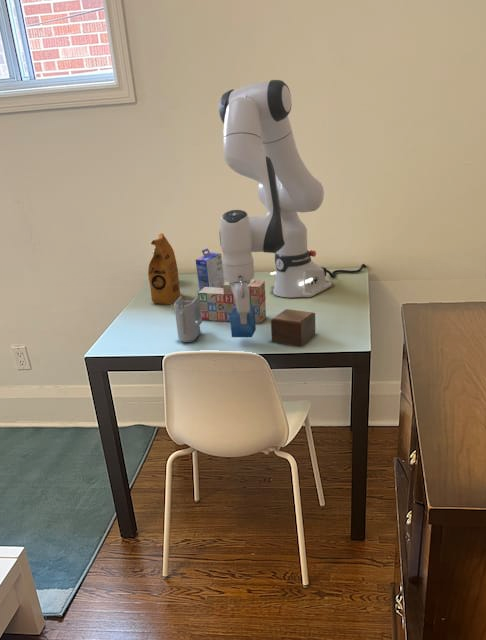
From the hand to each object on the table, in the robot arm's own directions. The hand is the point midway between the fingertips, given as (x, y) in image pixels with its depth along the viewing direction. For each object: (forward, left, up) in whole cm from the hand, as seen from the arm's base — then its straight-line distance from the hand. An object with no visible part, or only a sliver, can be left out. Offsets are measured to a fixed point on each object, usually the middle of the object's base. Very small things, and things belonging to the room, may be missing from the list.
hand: (242, 318), depth 199 cm
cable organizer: (+8, -17, -8) cm, 20 cm away
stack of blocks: (-11, -19, -8) cm, 24 cm away
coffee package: (-8, -54, -8) cm, 55 cm away
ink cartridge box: (-26, -50, -8) cm, 57 cm away
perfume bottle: (0, 0, -5) cm, 5 cm away
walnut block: (-12, +9, -8) cm, 17 cm away
